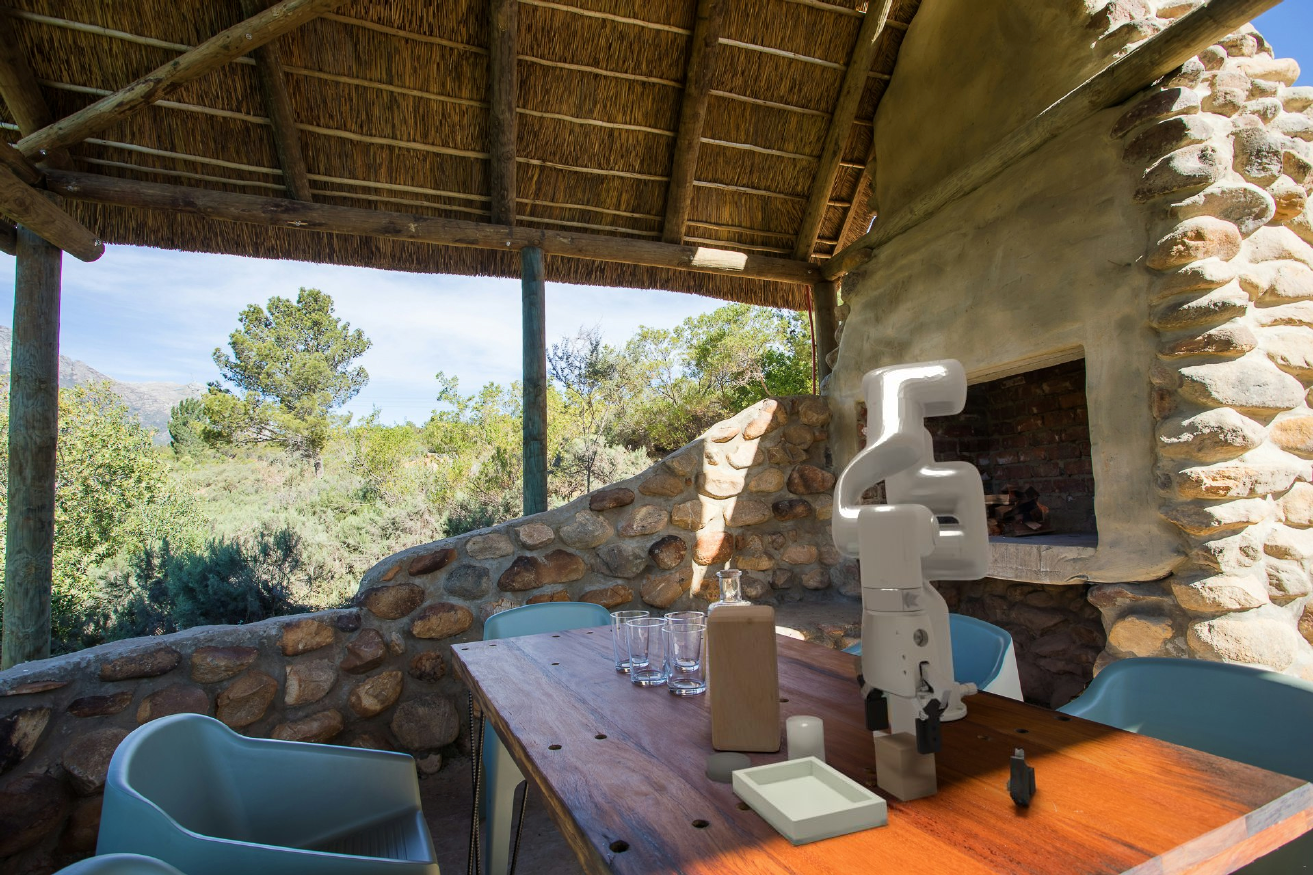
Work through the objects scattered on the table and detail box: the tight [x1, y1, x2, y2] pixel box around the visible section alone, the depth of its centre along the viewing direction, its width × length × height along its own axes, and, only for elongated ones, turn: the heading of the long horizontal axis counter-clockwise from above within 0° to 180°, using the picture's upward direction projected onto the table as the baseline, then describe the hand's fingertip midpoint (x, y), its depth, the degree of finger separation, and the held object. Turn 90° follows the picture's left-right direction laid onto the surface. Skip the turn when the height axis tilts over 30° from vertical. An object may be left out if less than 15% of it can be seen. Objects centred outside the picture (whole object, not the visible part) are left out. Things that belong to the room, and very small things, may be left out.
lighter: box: [1005, 748, 1036, 808], centre depth 81 cm, size 9×2×6 cm
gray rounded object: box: [705, 751, 752, 784], centre depth 91 cm, size 6×6×2 cm
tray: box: [732, 756, 889, 847], centre depth 81 cm, size 12×15×2 cm
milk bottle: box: [872, 691, 926, 744], centre depth 99 cm, size 8×8×20 cm
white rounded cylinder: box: [785, 714, 826, 764], centre depth 93 cm, size 5×5×6 cm
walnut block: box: [873, 732, 938, 802], centre depth 85 cm, size 5×5×6 cm
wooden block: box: [706, 604, 782, 753], centre depth 104 cm, size 10×10×20 cm
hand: (902, 740), depth 84 cm, fingers open, 9 cm apart
